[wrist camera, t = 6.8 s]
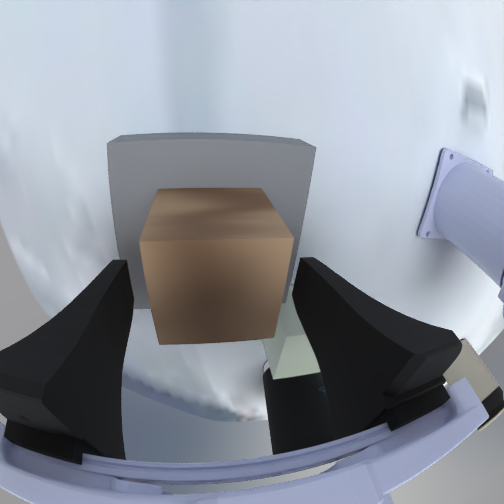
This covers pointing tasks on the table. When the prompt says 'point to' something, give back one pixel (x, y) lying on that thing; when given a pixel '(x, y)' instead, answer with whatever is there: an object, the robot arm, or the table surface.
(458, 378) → the travel mug
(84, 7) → the table surface
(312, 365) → the sage cube
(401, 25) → the table surface
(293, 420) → the dixie cup
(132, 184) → the grey square slab
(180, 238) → the walnut cube
